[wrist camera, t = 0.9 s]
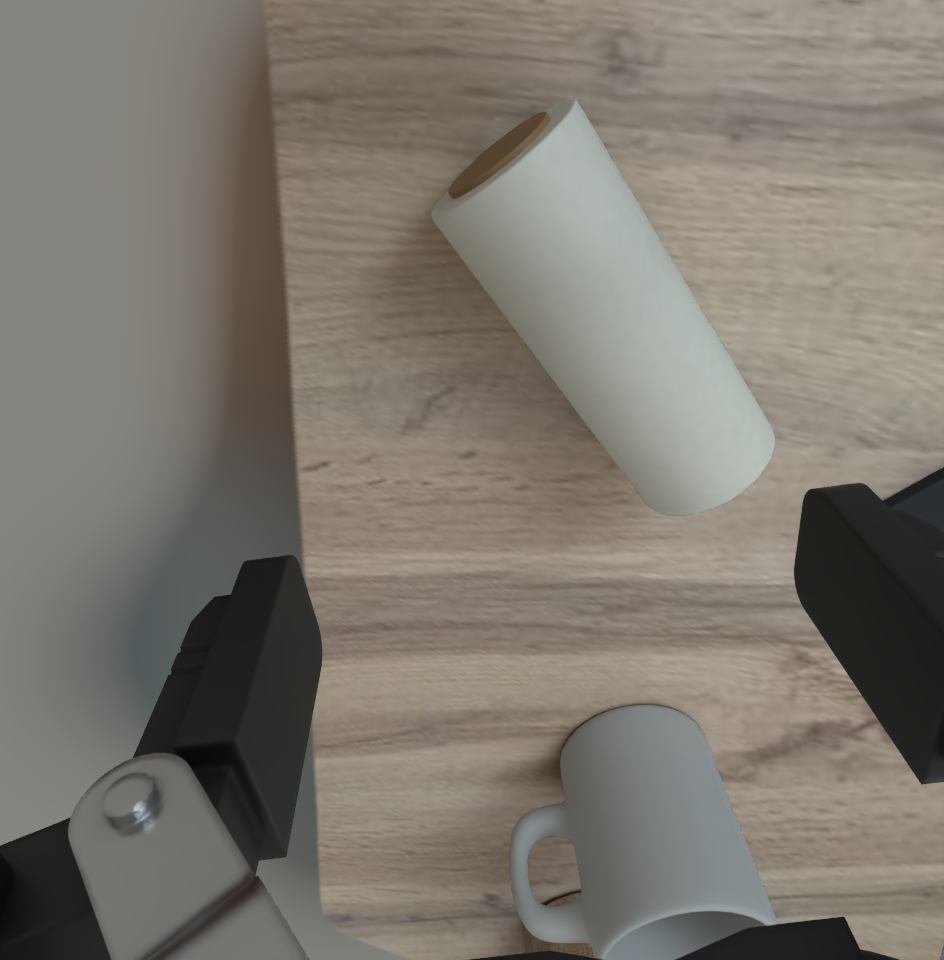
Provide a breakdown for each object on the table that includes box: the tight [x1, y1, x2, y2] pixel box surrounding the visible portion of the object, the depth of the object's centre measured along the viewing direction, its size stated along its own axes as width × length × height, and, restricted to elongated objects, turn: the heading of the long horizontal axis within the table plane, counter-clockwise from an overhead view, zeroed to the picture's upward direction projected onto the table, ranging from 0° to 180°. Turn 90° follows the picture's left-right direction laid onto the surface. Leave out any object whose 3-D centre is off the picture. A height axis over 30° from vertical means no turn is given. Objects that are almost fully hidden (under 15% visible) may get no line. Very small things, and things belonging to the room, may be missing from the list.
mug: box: [509, 705, 778, 960], centre depth 37 cm, size 12×8×11 cm
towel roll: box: [431, 98, 775, 516], centre depth 26 cm, size 6×14×6 cm, turn 37°
